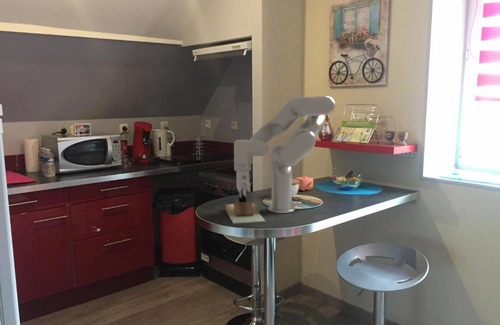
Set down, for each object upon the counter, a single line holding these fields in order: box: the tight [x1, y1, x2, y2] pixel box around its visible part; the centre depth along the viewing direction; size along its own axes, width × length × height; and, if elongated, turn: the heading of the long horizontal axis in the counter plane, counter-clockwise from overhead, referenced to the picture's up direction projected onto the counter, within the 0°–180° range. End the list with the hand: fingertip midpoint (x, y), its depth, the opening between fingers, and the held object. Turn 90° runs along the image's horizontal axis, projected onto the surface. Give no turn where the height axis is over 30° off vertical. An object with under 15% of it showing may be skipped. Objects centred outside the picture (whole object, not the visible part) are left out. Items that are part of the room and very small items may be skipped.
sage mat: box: [228, 213, 266, 225], centre depth 188 cm, size 14×12×1 cm
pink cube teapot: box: [294, 175, 314, 192], centre depth 245 cm, size 8×12×8 cm, turn 34°
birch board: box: [225, 202, 260, 216], centre depth 199 cm, size 14×11×2 cm
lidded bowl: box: [292, 178, 299, 197], centre depth 228 cm, size 13×13×11 cm
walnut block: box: [233, 201, 253, 216], centre depth 192 cm, size 8×7×2 cm
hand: (242, 205), depth 197 cm, fingers closed
